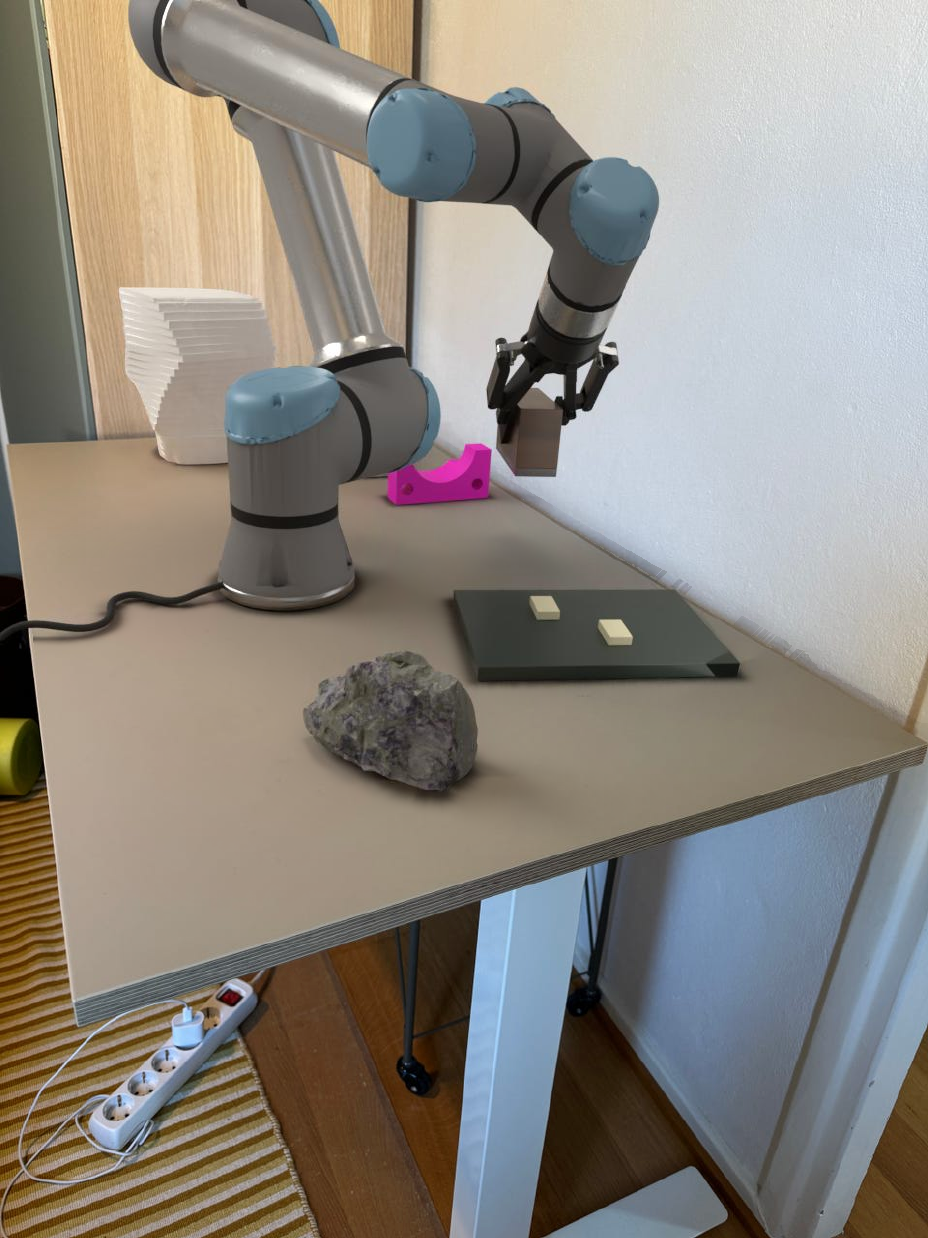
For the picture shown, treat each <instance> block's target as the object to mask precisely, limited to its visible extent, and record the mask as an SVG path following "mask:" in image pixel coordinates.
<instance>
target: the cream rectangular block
mask: <svg viewBox="0 0 928 1238" xmlns="http://www.w3.org/2000/svg"><path fill="white" fill-rule="evenodd" d="M529 604H530V606H531V608H532V610H533V612H534V614H535V616H536V618H537V620H559V616H560V611H559V609H558V607H557V605H556V603H555V602H554V600H553V598H552V596H530V603H529Z"/></svg>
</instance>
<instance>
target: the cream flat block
mask: <svg viewBox="0 0 928 1238" xmlns="http://www.w3.org/2000/svg"><path fill="white" fill-rule="evenodd" d="M598 629H599V631H600V632H601V634H602V635H603V637H604V639H605V640H606V642H607V643H608V645H632V639H633V636H632V635H631V633H630V632H629V630H628V629H627V628H626V626H625V625H624V623H623V622H622V620H599V623H598Z"/></svg>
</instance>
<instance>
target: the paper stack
mask: <svg viewBox="0 0 928 1238" xmlns="http://www.w3.org/2000/svg"><path fill="white" fill-rule="evenodd" d="M118 295H119V298H118V299H119V301H120V309H121V315H122V328H123V336H124V342H125V348H124V354H125V355H124V367H125V368H124V371H125V374H126V376H127V378H128V379H129V380H130V382H132V383H133V384H134V386H135V387H136V389H137V391H138V394H139V395H140V397H141V400H142V403H143V407H145V413H146V415H147V417H148V421H149V424H150V425H151V428H152V430H153V431H154V434H155V438H156V444H157V449H158V454H159V455H160V457H161V458H163V459H164V460H165V461H167V462H169V463H175V464H177V465H186V466H187V465H188V466H189V465H214V464H215V465H216V464H217V465H218V464H225V463H228V452H227V437H226V433H225V431H224V421H225V413H226V395H227V392H228V389H229V387H230V386H231V385H232V383H234V382H235V381H236V380H237V379H239V378H241V377H242V376H245V375H247V374H250V373H253V372H256V371H260V370H264V369H269V368H275V366H274V363H275V362H276V358H275V356H276V355H277V350H276V346H275V343H274V338H273V335H272V331H271V325H270V319H269V317H268V316H267V314H266V313H267V312H266V309H265V308H263V301H262V300H259V298H257V297H255V296H254V295H251V294H245V293H242V292H240V291H235V290H229V289H222V288H221V289H220V288H201V287H200V288H197V287H138V286H137V287H136V286H135V287H133V286H132V287H128V286H127V287H125V286H123V287H121V286H120V287H118Z"/></svg>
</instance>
